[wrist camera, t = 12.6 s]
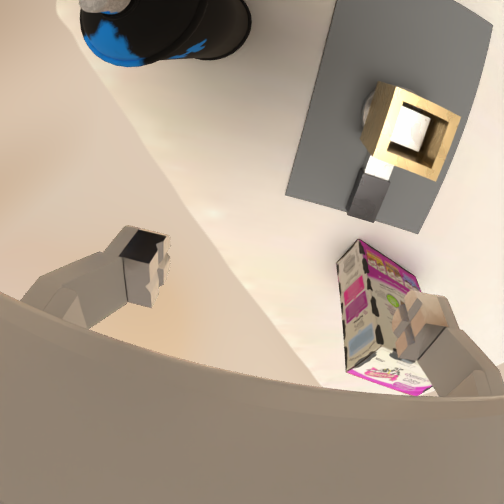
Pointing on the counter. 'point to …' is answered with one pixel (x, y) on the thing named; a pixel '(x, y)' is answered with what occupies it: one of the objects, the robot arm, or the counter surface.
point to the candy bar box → (376, 319)
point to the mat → (394, 73)
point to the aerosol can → (163, 29)
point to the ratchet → (378, 172)
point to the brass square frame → (383, 124)
